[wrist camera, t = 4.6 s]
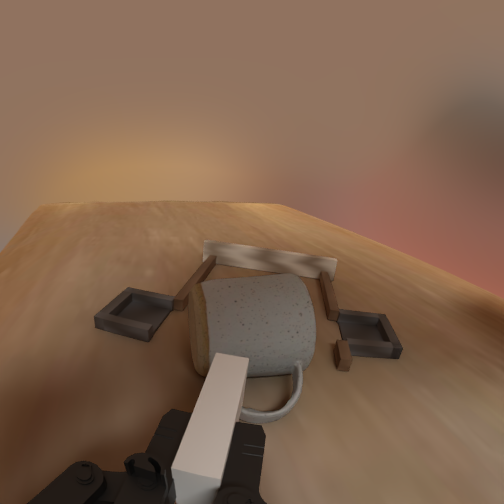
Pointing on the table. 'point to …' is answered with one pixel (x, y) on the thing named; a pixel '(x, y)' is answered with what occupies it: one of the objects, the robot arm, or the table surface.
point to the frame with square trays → (350, 322)
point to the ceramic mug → (254, 329)
